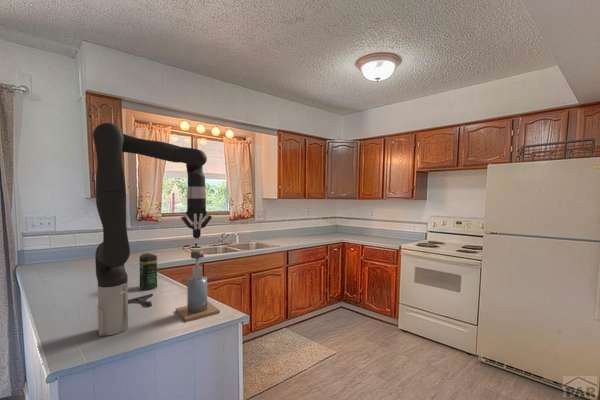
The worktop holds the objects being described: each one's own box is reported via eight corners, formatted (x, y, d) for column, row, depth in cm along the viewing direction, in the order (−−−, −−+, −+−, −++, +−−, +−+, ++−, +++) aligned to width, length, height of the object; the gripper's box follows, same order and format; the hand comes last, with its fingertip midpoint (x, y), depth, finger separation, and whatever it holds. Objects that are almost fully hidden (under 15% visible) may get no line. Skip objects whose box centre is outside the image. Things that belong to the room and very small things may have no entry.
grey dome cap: (196, 272, 117) (196, 254, 116) (189, 268, 123) (189, 251, 123) (208, 270, 120) (208, 252, 120) (200, 266, 126) (200, 250, 126)
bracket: (133, 313, 124) (133, 306, 124) (119, 305, 133) (119, 299, 133) (166, 303, 135) (166, 297, 135) (151, 296, 144) (151, 291, 144)
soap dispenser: (185, 322, 113) (185, 273, 113) (175, 311, 124) (175, 266, 124) (219, 312, 122) (219, 267, 122) (207, 303, 133) (207, 262, 133)
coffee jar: (159, 288, 155) (159, 254, 155) (143, 291, 150) (143, 256, 150) (153, 284, 162) (153, 251, 162) (137, 287, 157) (137, 253, 157)
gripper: (183, 197, 115) (183, 240, 115) (215, 197, 124) (215, 237, 124) (177, 197, 121) (177, 238, 121) (208, 197, 129) (208, 235, 130)
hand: (196, 238), depth 123 cm, fingers closed
